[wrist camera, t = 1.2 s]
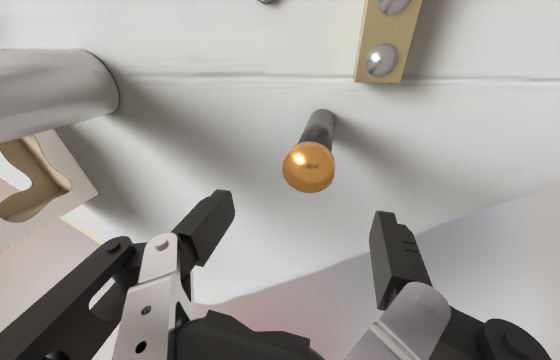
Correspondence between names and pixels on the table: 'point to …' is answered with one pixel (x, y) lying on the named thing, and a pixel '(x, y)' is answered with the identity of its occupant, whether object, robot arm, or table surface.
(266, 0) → the pulley system
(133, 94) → the table surface
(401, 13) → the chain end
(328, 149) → the pin
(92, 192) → the white open frame
